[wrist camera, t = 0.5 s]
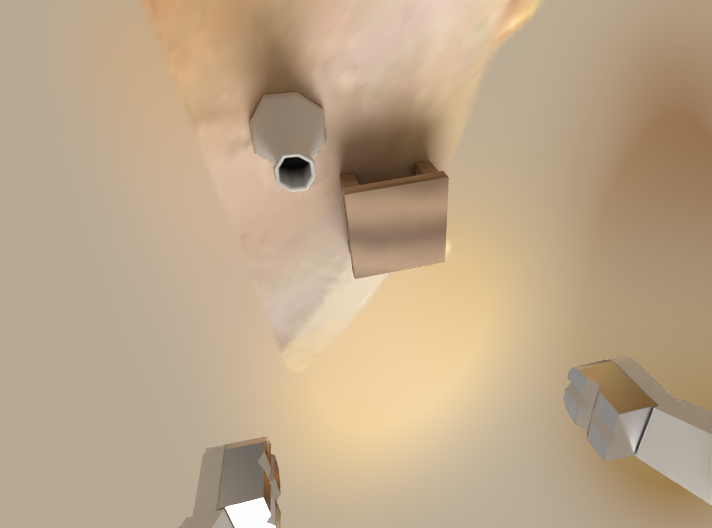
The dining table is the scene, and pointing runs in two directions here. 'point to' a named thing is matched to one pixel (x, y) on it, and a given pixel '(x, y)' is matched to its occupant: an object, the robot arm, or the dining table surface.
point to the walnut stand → (396, 221)
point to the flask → (289, 137)
